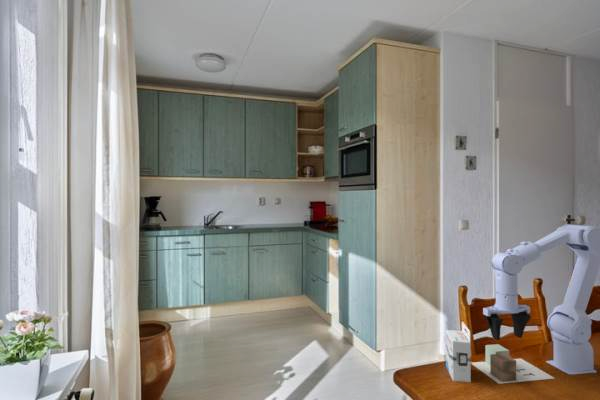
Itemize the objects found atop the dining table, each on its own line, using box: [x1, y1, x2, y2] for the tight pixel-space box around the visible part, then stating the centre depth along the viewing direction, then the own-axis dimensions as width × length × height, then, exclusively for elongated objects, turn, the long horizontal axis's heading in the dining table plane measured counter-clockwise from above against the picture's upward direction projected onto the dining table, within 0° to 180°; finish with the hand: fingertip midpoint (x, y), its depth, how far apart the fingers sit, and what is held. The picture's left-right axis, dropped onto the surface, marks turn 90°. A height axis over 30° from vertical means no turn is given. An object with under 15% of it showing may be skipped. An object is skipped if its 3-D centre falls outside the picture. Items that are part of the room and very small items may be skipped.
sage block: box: [484, 343, 510, 365], centre depth 101 cm, size 4×4×6 cm
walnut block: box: [490, 353, 516, 381], centre depth 95 cm, size 4×4×6 cm
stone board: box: [471, 357, 555, 385], centre depth 99 cm, size 18×12×1 cm, turn 99°
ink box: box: [445, 321, 472, 383], centre depth 97 cm, size 9×5×15 cm, turn 168°
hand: (507, 337), depth 100 cm, fingers open, 7 cm apart
